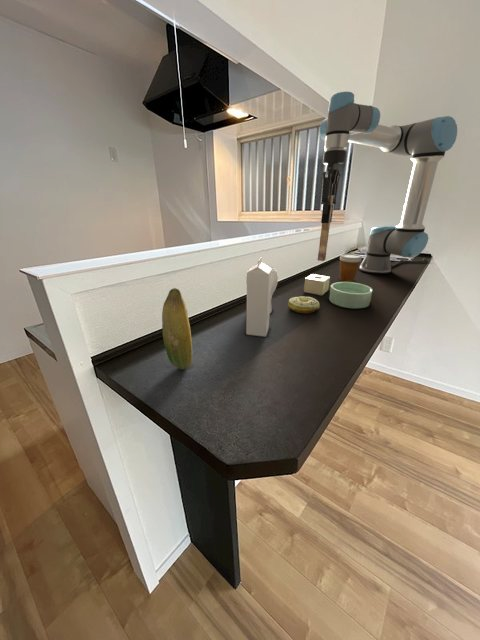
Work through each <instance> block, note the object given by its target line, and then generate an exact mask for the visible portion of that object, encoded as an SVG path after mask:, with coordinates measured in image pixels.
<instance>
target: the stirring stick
mask: <svg viewBox="0 0 480 640" xmlns="http://www.w3.org/2000/svg"><path fill="white" fill-rule="evenodd" d="M333 197H334V195H332V196H331V203H330V204H331V209H330V217H329V223H321V228H320V229H321V230H320V238H319V244H318V245H319V246H318V252H317V261H320V262H325V261H326V258H327V249H328V241H329V235H330V227H331V223H330V220H331V212H332V205H333ZM333 206H334V205H333ZM331 221H332V220H331Z"/></svg>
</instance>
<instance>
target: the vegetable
mask: <svg viewBox="0 0 480 640" xmlns="http://www.w3.org/2000/svg"><path fill="white" fill-rule="evenodd" d="M188 313H189V312H188V309H187V306H186V302H185V301H184V297H183V296H182V293H181V290H179V289H178V288H176V287H173V288H171V289H170V290H169V291H168V294H167V296H166V299H165V301H164V302H163V306H162V311H161V322H162V323H161V324H162V326H161V329H162V340H163V345H164V348H165V351H166V355H167V358H168V360H169V362H170V364H171V365H172V366H173V367H174V368H176V369H179V370H186V369H188V368H190V366H191V364H192V362H193V340H192V332H191V331H192V330H191V325H190V318H189V315H188Z"/></svg>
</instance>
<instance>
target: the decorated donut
mask: <svg viewBox="0 0 480 640" xmlns="http://www.w3.org/2000/svg"><path fill="white" fill-rule="evenodd" d="M288 307H289V308H290V310H292V311H293V312H295V313H298V314H313V313H314V312H316V311H317V310H319V309H320V302H319V301H318V300H317V299H316V298H314V297H311V296H303V295H301V296H294V297H291V298H290V299H288Z"/></svg>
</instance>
